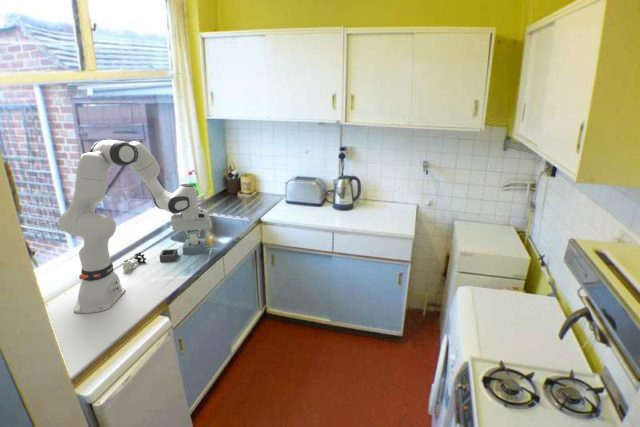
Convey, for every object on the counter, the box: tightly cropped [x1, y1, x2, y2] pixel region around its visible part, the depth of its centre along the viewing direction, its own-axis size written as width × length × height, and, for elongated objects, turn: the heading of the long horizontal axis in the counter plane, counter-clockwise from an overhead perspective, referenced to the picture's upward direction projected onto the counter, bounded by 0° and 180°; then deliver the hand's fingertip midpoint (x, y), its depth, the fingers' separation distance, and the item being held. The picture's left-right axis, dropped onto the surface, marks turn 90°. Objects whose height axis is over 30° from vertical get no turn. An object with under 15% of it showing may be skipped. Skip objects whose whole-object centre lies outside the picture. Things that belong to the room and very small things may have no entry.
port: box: [181, 237, 208, 256], centre depth 214 cm, size 11×11×5 cm
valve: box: [122, 252, 147, 274], centre depth 195 cm, size 7×7×12 cm
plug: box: [188, 230, 199, 245], centre depth 213 cm, size 4×4×9 cm
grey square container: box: [159, 248, 179, 263], centre depth 204 cm, size 7×7×4 cm
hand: (193, 237), depth 212 cm, fingers closed on plug, 4 cm apart
